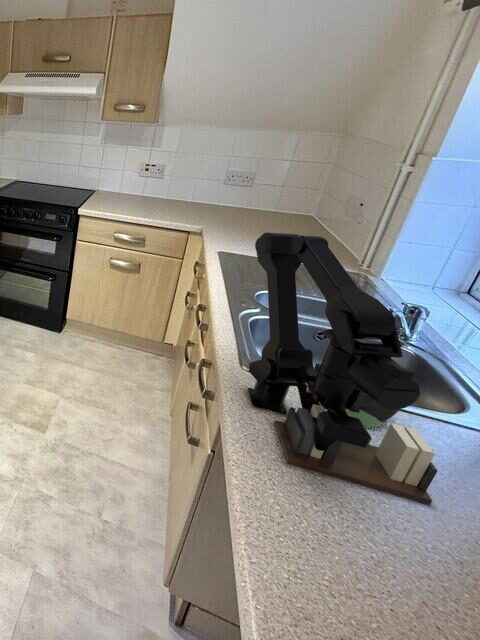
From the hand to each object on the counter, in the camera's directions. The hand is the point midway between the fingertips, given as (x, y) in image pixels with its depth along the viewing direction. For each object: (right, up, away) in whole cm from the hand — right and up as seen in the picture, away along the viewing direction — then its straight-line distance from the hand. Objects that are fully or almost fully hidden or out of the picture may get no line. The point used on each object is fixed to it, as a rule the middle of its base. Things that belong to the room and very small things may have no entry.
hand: (313, 438), depth 79 cm
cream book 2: (+11, -4, -4) cm, 12 cm away
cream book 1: (0, -2, +1) cm, 2 cm away
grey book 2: (+2, -2, 0) cm, 3 cm away
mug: (+20, 0, +12) cm, 23 cm away
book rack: (+5, -4, -1) cm, 6 cm away
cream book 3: (+12, -4, -4) cm, 14 cm away
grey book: (-2, -2, +1) cm, 3 cm away
